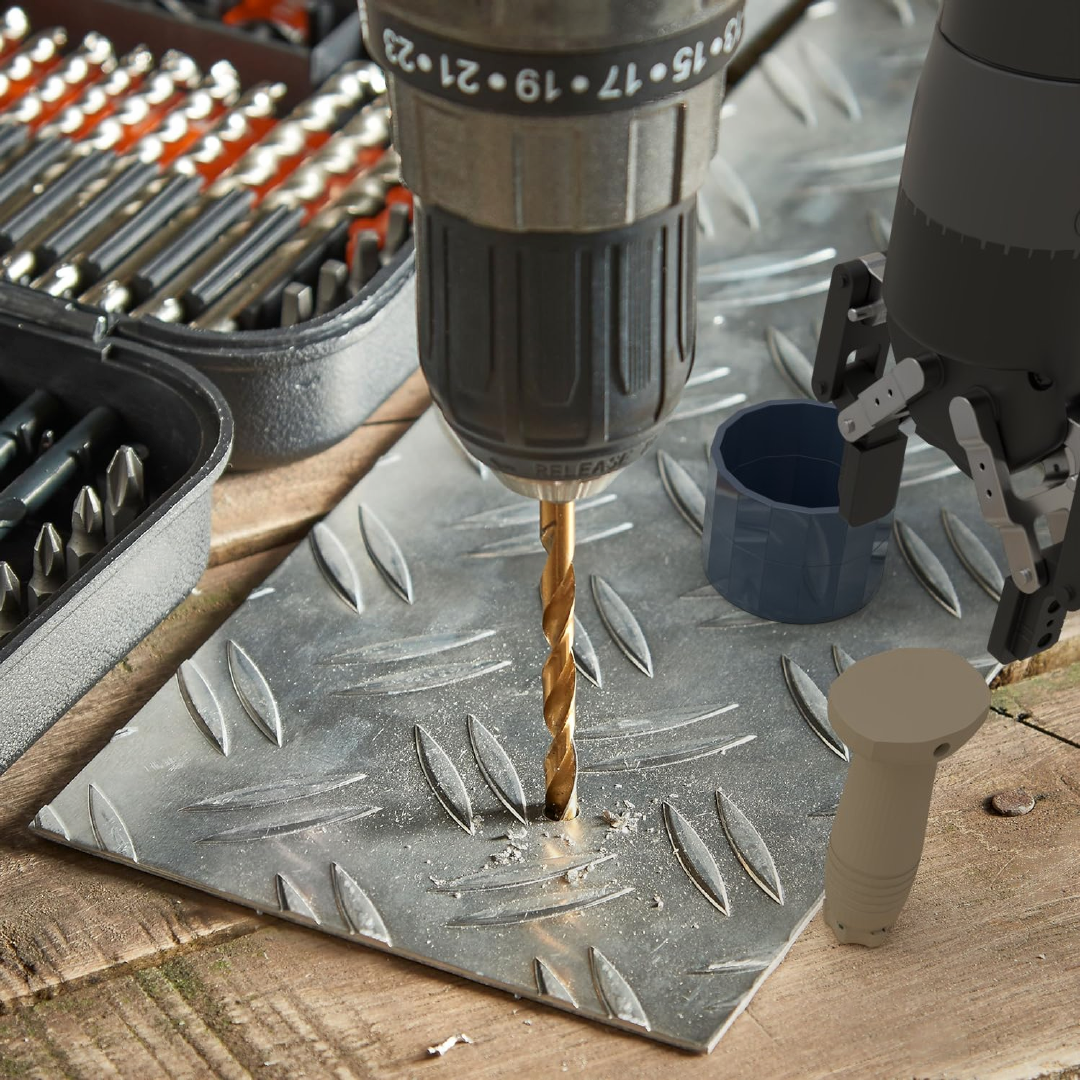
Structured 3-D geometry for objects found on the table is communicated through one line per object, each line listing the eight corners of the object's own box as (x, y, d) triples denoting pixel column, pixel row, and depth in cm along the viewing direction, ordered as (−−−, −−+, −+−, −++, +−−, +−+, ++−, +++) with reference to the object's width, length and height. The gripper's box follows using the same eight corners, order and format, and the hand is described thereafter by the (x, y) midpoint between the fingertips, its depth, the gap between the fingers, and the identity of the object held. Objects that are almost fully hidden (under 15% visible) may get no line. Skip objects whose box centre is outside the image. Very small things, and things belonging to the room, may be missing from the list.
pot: (721, 493, 94) (732, 385, 89) (891, 524, 92) (913, 416, 87) (684, 603, 87) (694, 492, 82) (869, 640, 84) (891, 528, 79)
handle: (770, 904, 71) (808, 675, 61) (888, 861, 73) (943, 632, 63) (824, 988, 68) (873, 759, 58) (946, 940, 69) (1015, 712, 60)
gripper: (1306, 255, 43) (1153, 667, 53) (968, 69, 52) (895, 450, 63) (1106, 322, 40) (986, 743, 51) (788, 114, 50) (742, 504, 60)
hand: (935, 580), depth 57 cm, fingers open, 8 cm apart
